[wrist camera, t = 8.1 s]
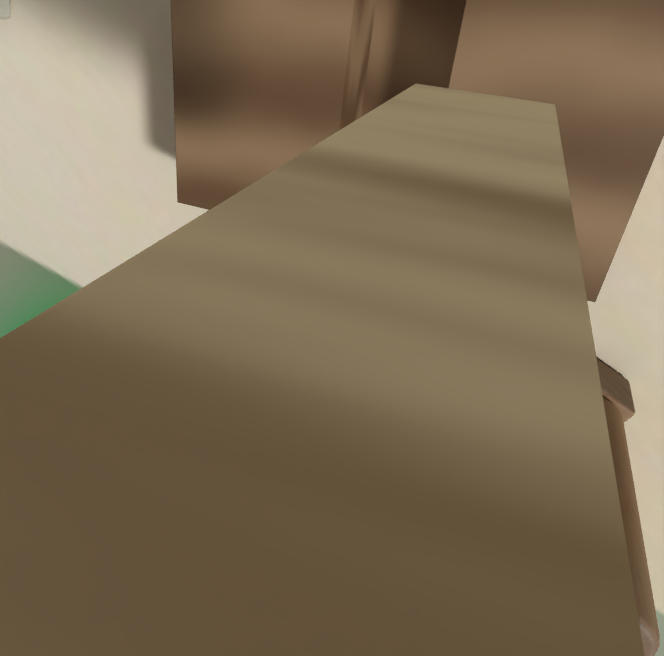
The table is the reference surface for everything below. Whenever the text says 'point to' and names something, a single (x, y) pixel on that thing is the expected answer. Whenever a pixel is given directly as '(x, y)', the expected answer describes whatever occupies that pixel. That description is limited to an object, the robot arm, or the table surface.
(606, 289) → the table surface
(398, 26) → the slotted plate
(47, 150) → the table surface
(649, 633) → the wooden toy block structure
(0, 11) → the small box
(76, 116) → the table surface
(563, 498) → the maple slat
